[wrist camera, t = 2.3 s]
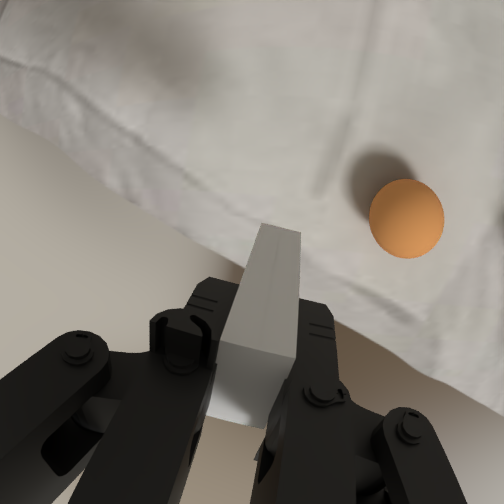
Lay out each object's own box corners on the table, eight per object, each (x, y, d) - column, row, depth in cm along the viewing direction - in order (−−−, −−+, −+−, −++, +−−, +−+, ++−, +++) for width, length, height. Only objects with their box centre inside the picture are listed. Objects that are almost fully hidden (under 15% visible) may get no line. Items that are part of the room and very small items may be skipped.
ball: (374, 162, 23) (395, 178, 18) (436, 184, 23) (468, 206, 18) (353, 229, 26) (365, 261, 21) (413, 246, 26) (436, 280, 20)
